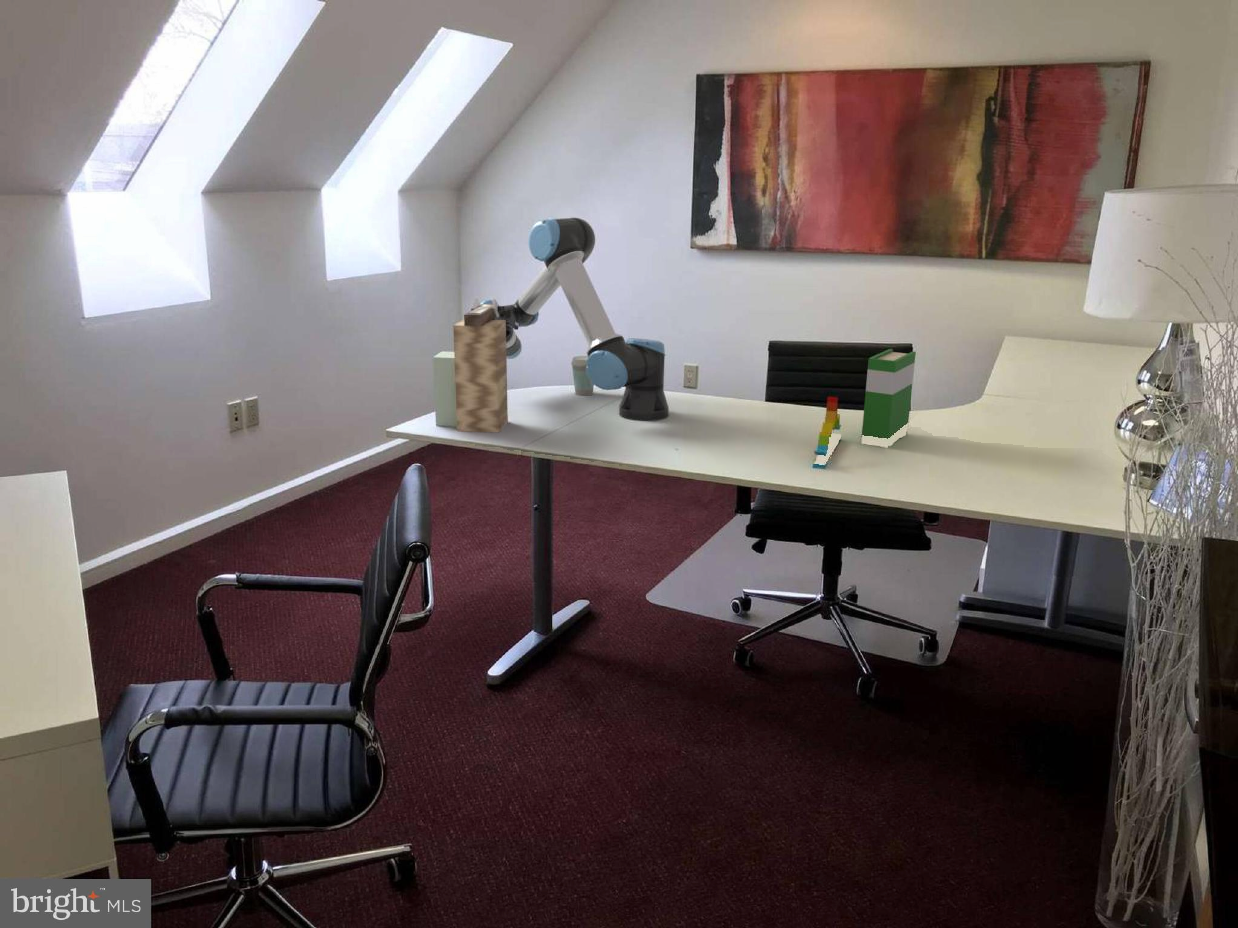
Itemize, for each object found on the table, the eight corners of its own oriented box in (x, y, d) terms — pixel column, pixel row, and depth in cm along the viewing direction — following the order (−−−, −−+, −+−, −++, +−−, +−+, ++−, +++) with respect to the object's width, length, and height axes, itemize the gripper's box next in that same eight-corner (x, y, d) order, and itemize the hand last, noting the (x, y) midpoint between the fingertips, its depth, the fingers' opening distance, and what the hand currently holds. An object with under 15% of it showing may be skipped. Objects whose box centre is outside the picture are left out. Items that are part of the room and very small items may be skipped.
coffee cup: (593, 397, 315) (593, 361, 312) (568, 395, 317) (568, 359, 313) (599, 391, 323) (599, 356, 320) (574, 390, 325) (574, 355, 321)
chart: (825, 470, 243) (830, 412, 239) (812, 468, 244) (817, 411, 240) (841, 440, 271) (846, 387, 266) (830, 438, 272) (834, 386, 267)
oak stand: (507, 421, 284) (505, 320, 275) (498, 432, 272) (496, 326, 263) (467, 420, 285) (464, 318, 276) (457, 430, 273) (453, 325, 265)
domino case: (498, 314, 283) (498, 303, 282) (480, 326, 262) (480, 314, 261) (483, 314, 283) (483, 303, 282) (464, 325, 262) (464, 314, 261)
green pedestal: (467, 418, 286) (465, 352, 280) (459, 426, 278) (457, 358, 272) (444, 417, 287) (441, 351, 281) (435, 425, 278) (432, 357, 273)
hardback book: (881, 430, 280) (889, 348, 273) (907, 434, 276) (915, 351, 269) (860, 444, 266) (868, 358, 259) (887, 448, 262) (895, 361, 255)
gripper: (528, 345, 295) (513, 316, 273) (472, 343, 297) (453, 314, 275) (530, 322, 297) (516, 291, 274) (474, 320, 299) (455, 290, 276)
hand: (484, 303), depth 275 cm, fingers closed on domino case, 4 cm apart
